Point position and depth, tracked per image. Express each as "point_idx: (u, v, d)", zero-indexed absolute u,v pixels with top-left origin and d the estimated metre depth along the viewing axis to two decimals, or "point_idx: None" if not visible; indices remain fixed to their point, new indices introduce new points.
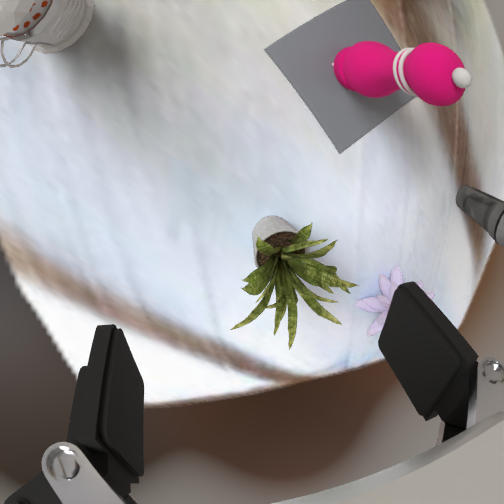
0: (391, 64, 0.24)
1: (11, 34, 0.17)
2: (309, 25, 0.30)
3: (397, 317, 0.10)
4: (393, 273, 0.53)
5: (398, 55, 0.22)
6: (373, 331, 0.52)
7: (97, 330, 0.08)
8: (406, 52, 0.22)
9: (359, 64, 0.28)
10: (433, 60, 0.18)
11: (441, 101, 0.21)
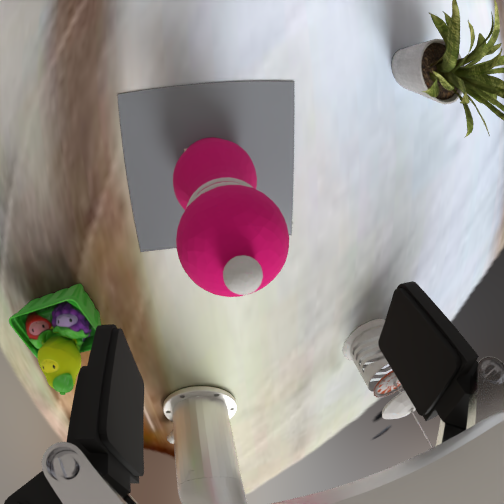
0: None
1: None
2: None
3: (397, 317, 0.10)
4: None
5: None
6: None
7: (97, 330, 0.08)
8: None
9: None
10: (260, 288, 0.17)
11: (276, 221, 0.15)
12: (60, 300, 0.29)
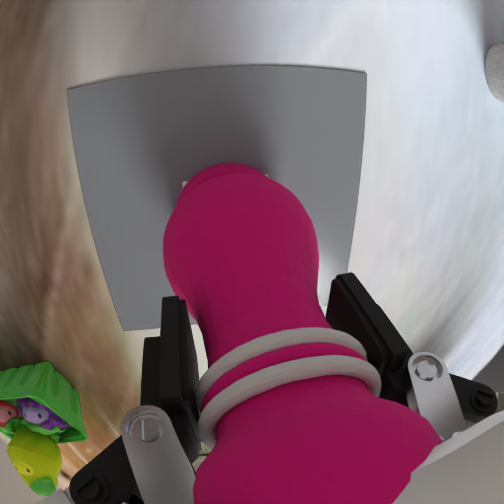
0: None
1: None
2: None
3: (334, 308, 0.10)
4: None
5: None
6: None
7: (163, 300, 0.09)
8: None
9: None
10: None
11: None
12: (22, 394, 0.18)
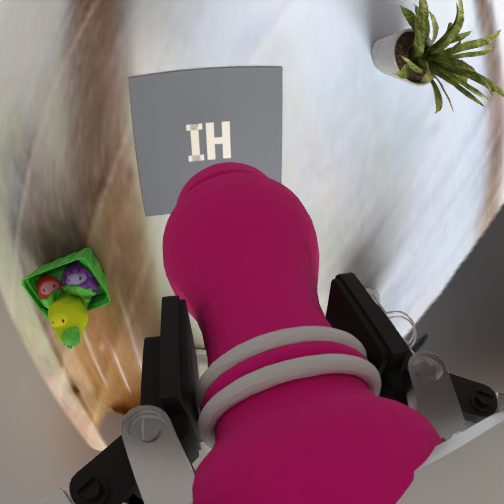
0: None
1: None
2: None
3: (335, 308, 0.10)
4: None
5: None
6: None
7: (164, 300, 0.09)
8: None
9: None
10: None
11: None
12: (71, 259, 0.33)
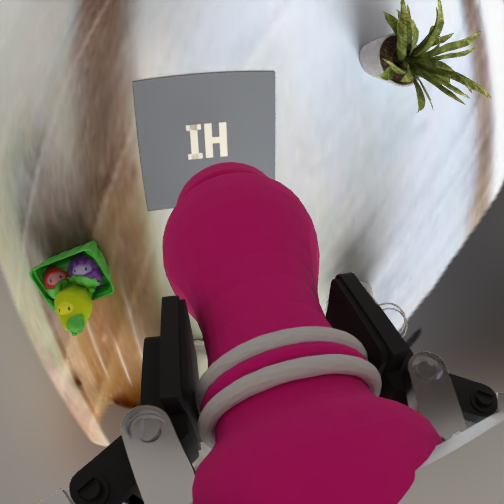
0: None
1: None
2: None
3: (334, 308, 0.10)
4: None
5: None
6: None
7: (164, 300, 0.09)
8: None
9: None
10: None
11: None
12: (78, 251, 0.36)
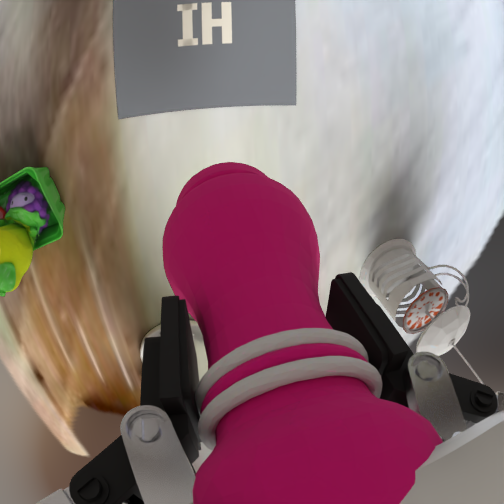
0: None
1: (446, 296, 0.33)
2: (227, 101, 0.27)
3: (334, 308, 0.10)
4: None
5: None
6: None
7: (163, 300, 0.09)
8: None
9: None
10: None
11: None
12: (17, 172, 0.22)
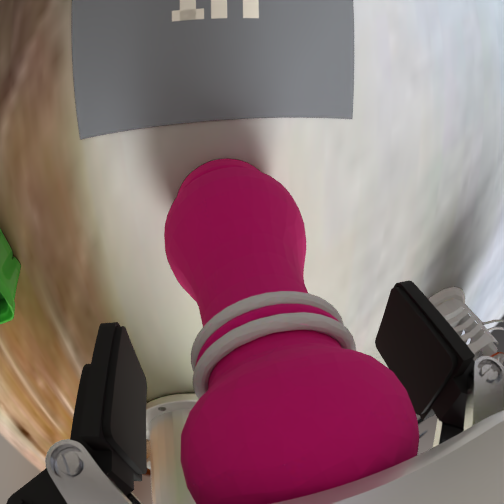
0: None
1: None
2: (249, 110, 0.17)
3: (394, 316, 0.10)
4: None
5: None
6: None
7: (100, 328, 0.08)
8: None
9: None
10: None
11: (414, 448, 0.05)
12: None
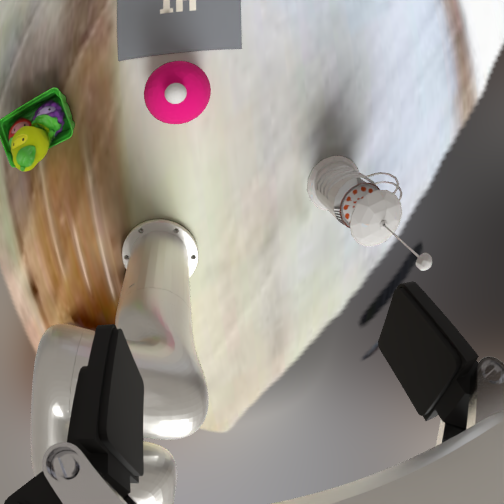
0: None
1: None
2: (192, 47, 0.35)
3: (397, 317, 0.10)
4: None
5: None
6: None
7: (97, 330, 0.08)
8: None
9: None
10: (190, 113, 0.25)
11: (198, 72, 0.23)
12: (45, 92, 0.30)
